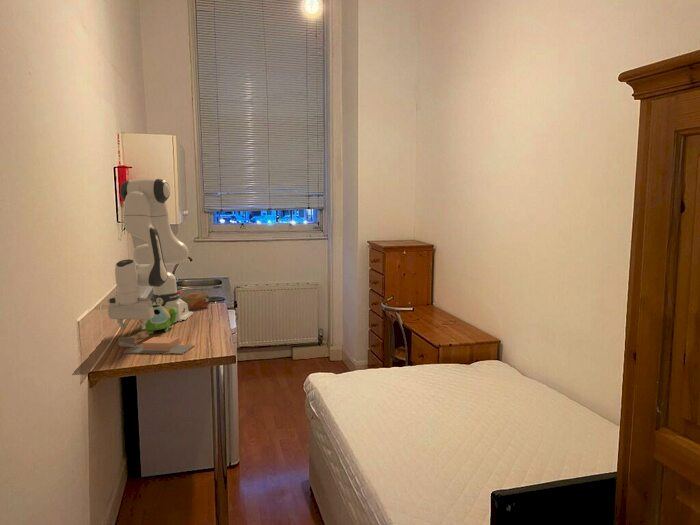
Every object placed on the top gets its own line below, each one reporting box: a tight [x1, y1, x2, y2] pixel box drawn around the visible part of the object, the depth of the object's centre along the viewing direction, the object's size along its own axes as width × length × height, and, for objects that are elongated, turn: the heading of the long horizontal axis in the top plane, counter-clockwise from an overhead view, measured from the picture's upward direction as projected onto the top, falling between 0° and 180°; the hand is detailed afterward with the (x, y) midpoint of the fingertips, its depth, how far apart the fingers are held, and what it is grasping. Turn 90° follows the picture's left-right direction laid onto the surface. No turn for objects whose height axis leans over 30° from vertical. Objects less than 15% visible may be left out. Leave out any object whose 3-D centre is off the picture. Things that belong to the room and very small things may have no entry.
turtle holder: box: [138, 304, 178, 335], centre depth 244 cm, size 12×18×12 cm
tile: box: [141, 336, 181, 350], centre depth 216 cm, size 3×12×8 cm
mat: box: [122, 344, 195, 355], centre depth 214 cm, size 10×26×1 cm, turn 79°
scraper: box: [118, 330, 150, 348], centre depth 227 cm, size 15×7×4 cm, turn 169°
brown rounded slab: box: [181, 292, 211, 310], centre depth 286 cm, size 15×3×8 cm, turn 101°
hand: (133, 328), depth 228 cm, fingers open, 8 cm apart
